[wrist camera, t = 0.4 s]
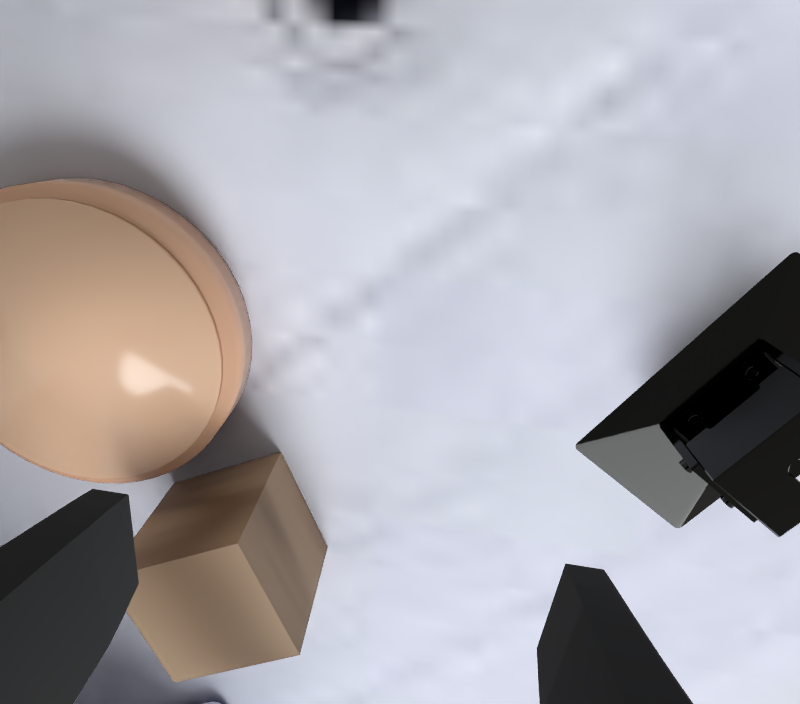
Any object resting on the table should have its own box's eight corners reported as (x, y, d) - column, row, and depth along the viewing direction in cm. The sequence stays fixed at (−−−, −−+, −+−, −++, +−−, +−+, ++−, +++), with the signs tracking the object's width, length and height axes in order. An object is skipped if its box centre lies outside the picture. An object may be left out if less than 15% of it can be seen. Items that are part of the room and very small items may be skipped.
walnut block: (226, 571, 23) (174, 682, 19) (174, 482, 22) (104, 578, 17) (327, 545, 22) (299, 654, 18) (281, 451, 21) (237, 543, 16)
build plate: (653, 557, 22) (703, 658, 18) (517, 450, 21) (537, 531, 17) (952, 330, 18) (1105, 391, 14) (809, 179, 17) (932, 197, 13)
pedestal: (62, 485, 22) (27, 518, 20) (-100, 239, 19) (-158, 252, 17) (298, 414, 20) (284, 443, 18) (165, 129, 17) (132, 130, 15)
